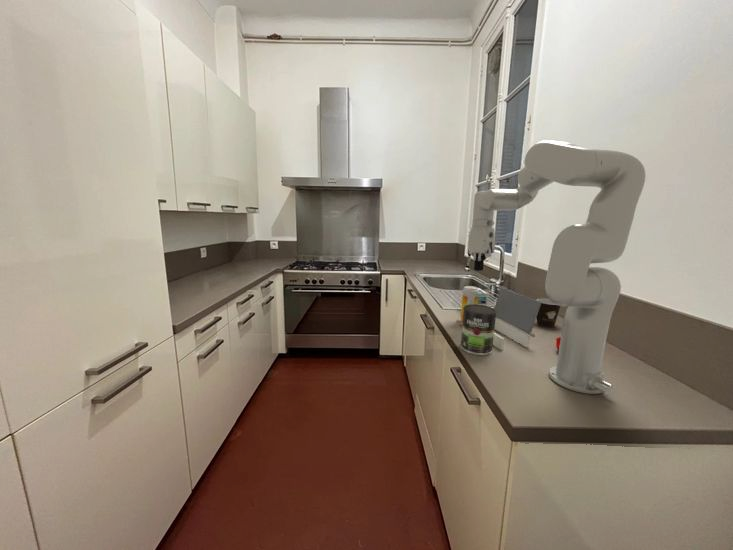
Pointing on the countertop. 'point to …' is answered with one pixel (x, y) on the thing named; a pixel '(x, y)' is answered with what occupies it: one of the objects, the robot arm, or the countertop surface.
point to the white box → (509, 335)
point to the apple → (558, 342)
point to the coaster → (459, 321)
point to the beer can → (469, 297)
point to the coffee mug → (547, 313)
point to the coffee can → (478, 329)
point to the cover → (517, 310)
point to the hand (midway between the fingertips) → (478, 270)
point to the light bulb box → (482, 297)
